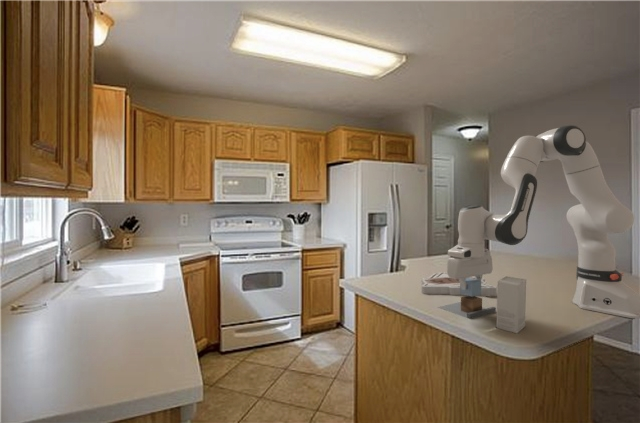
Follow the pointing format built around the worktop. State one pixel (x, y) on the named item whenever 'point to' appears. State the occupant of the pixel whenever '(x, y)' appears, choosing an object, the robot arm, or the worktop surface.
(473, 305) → the walnut block
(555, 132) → the robot arm
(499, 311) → the skincare box
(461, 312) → the grey flat square slab
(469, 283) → the blue block
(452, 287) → the decorative sign
